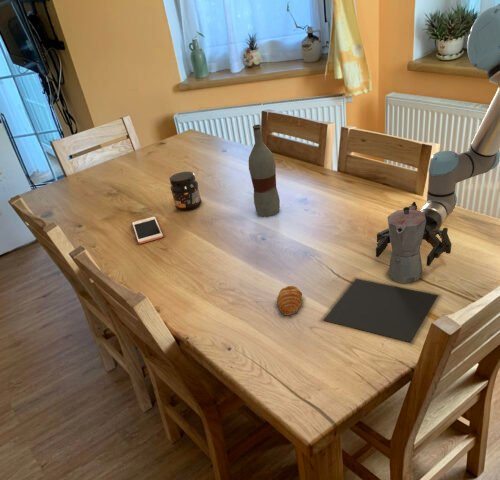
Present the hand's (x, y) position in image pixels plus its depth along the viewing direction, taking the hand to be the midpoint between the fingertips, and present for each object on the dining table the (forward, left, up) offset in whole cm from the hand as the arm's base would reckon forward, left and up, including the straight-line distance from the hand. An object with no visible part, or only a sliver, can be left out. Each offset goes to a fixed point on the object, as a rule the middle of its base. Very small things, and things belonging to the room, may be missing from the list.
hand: (401, 257), depth 129 cm
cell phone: (+94, +1, -7) cm, 94 cm away
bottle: (+58, -25, -7) cm, 63 cm away
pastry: (+22, +22, -7) cm, 32 cm away
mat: (0, +15, -7) cm, 16 cm away
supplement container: (+92, -21, -7) cm, 95 cm away
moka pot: (0, -2, -7) cm, 7 cm away
